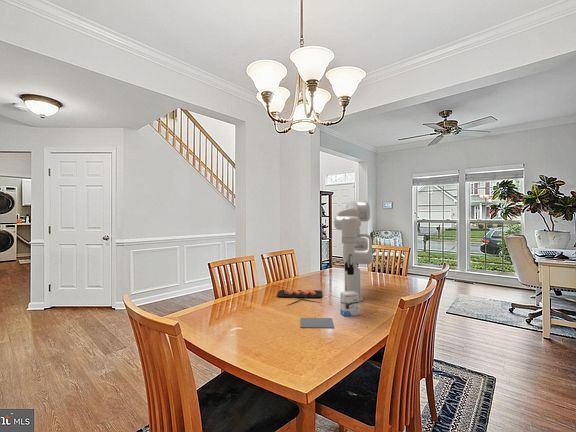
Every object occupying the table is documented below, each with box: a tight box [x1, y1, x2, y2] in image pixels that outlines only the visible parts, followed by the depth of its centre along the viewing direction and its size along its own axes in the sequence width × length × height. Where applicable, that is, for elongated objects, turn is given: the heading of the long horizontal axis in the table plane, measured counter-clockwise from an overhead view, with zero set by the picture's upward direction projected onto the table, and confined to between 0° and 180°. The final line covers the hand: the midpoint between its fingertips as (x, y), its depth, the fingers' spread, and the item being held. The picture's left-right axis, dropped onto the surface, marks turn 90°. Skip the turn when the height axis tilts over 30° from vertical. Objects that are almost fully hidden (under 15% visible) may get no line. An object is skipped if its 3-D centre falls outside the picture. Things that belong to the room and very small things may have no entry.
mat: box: [299, 317, 335, 329], centre depth 150 cm, size 12×16×1 cm
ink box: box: [339, 291, 360, 317], centre depth 162 cm, size 8×5×12 cm, turn 105°
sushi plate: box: [276, 288, 323, 307], centre depth 191 cm, size 29×30×4 cm
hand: (349, 272), depth 162 cm, fingers open, 9 cm apart
